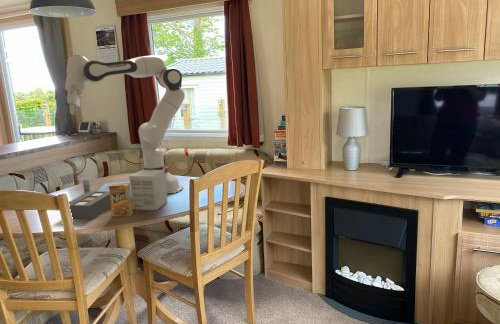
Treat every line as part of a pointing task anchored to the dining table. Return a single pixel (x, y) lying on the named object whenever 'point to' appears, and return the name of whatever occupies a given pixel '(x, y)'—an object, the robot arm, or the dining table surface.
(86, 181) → the steel stylus
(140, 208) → the supplement box
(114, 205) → the candy box
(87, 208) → the board
